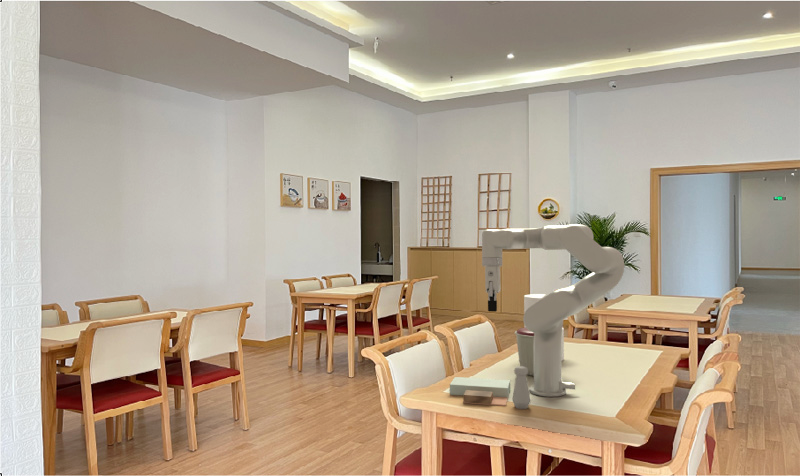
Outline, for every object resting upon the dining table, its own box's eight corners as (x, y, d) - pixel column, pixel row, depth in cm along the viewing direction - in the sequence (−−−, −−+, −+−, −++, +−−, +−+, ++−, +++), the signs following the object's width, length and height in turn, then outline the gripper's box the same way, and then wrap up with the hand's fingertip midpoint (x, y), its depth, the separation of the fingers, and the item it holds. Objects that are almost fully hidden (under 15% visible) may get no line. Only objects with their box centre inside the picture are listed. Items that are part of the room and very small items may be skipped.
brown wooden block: (490, 396, 187) (490, 404, 187) (492, 391, 192) (492, 398, 192) (463, 394, 189) (463, 402, 189) (466, 390, 195) (466, 397, 195)
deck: (510, 389, 205) (510, 380, 205) (507, 398, 194) (507, 388, 194) (454, 386, 210) (454, 376, 210) (449, 394, 200) (449, 384, 200)
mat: (507, 398, 194) (507, 397, 194) (505, 406, 186) (505, 404, 186) (466, 395, 198) (466, 394, 198) (462, 403, 189) (462, 401, 189)
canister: (522, 366, 241) (522, 316, 241) (566, 371, 232) (566, 319, 232) (508, 375, 226) (508, 322, 225) (554, 381, 216) (554, 326, 216)
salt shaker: (533, 409, 182) (533, 368, 182) (517, 410, 181) (517, 369, 181) (524, 403, 188) (524, 364, 188) (509, 405, 186) (509, 365, 186)
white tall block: (521, 360, 252) (521, 297, 252) (527, 353, 268) (527, 293, 268) (562, 363, 246) (561, 298, 246) (565, 355, 262) (565, 294, 262)
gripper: (500, 263, 206) (500, 314, 206) (503, 261, 221) (504, 308, 221) (479, 263, 208) (479, 313, 208) (484, 261, 223) (484, 308, 223)
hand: (492, 311), depth 214 cm, fingers closed
